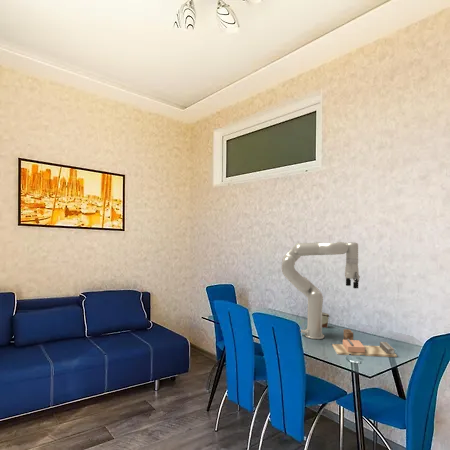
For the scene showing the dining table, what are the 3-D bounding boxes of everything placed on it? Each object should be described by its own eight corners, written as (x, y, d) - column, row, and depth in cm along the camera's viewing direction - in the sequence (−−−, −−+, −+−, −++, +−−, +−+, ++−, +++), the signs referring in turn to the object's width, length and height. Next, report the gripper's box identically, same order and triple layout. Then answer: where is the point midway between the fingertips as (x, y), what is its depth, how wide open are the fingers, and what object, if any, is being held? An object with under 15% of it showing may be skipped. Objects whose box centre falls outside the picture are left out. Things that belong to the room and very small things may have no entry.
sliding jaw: (347, 351, 199) (347, 344, 199) (342, 344, 211) (342, 337, 211) (365, 352, 198) (365, 345, 198) (359, 345, 210) (359, 338, 210)
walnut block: (346, 344, 217) (346, 333, 217) (343, 339, 225) (343, 329, 225) (353, 344, 216) (353, 333, 216) (349, 340, 224) (349, 329, 224)
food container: (327, 325, 256) (327, 312, 256) (329, 328, 250) (329, 314, 250) (310, 324, 257) (311, 311, 257) (312, 327, 251) (312, 313, 251)
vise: (337, 354, 199) (337, 347, 199) (332, 345, 213) (332, 339, 213) (396, 357, 196) (396, 349, 196) (387, 348, 210) (387, 341, 210)
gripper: (340, 259, 235) (340, 284, 235) (353, 262, 218) (353, 289, 218) (350, 259, 236) (350, 284, 236) (364, 262, 219) (364, 289, 219)
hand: (352, 286), depth 227 cm, fingers open, 9 cm apart
